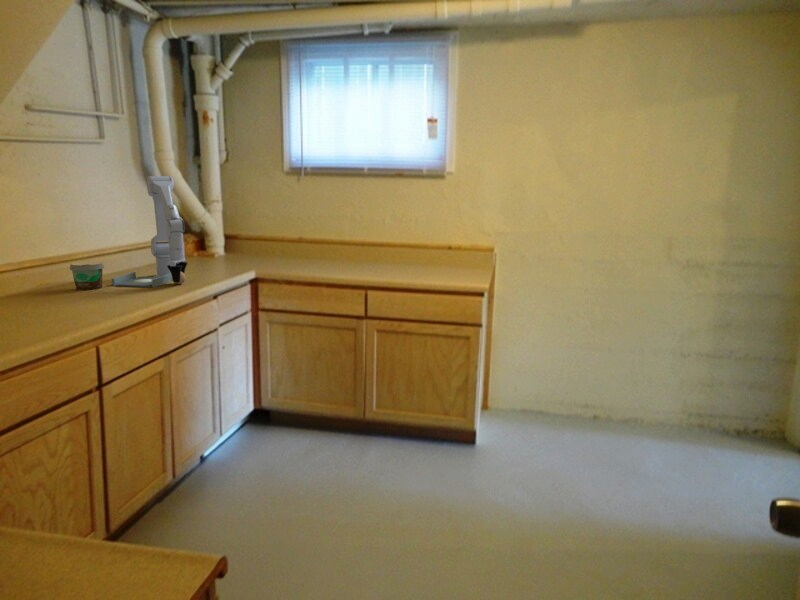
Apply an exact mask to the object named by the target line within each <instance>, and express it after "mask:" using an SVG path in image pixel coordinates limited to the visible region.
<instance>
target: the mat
mask: <svg viewBox="0 0 800 600" xmlns="http://www.w3.org/2000/svg"><path fill="white" fill-rule="evenodd" d="M156 278H158V277H152V276H136V278H134V279H131V280H128V281H125V282H122V283H119V284H116V286H115V287H119V288H120V287H123V288H146V289H147V288H148V289H149V288H152V280H153V279H156Z"/></svg>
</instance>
